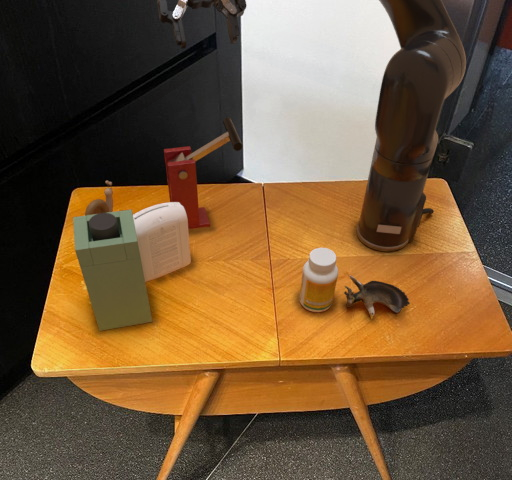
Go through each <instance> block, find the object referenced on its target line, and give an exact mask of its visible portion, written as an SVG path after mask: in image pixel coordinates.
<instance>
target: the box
mask: <svg viewBox="0 0 512 480" xmlns="http://www.w3.org/2000/svg"><path fill="white" fill-rule="evenodd" d="M108 213H110V214H112V215H114V216H115V217H116V220H117V224H118V229H119V234H120V238H113V239H106V240H99V241H93V238H92V234H91V230H90V226H89V220H90V219H91V217H93V216H94V215H96V214H93V215H86V216H85V215H80V216H73V217H72V225H73V227H72V228H73V239H74V240H73V241H74V251H75V255H76V259H77V262H78V265H79V268H80V271H81V274H82V277H83V281H84V285H85V288H86V291H87V295H88V297H89V301H90V304H91V308H92V310H93V314H94V317H95V320H96V323H97V327H98V330H99V332H100V331H101V332H102V331H106V330H107V331H108V330H113V329H120V328H124V327H131V326H137V325H142V324H148V323H153V317H152V311H151V307H150V306H151V305H150V300H149V295H148V289H147V282H145V278H144V272H143V267H142V262H141V256H140V251H139V246H138V240H137V235H136V229H135V224H134V219H133V215H134V213H133V209H125V210H117V211H116V210H115V211H113V212H108Z"/></svg>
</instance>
